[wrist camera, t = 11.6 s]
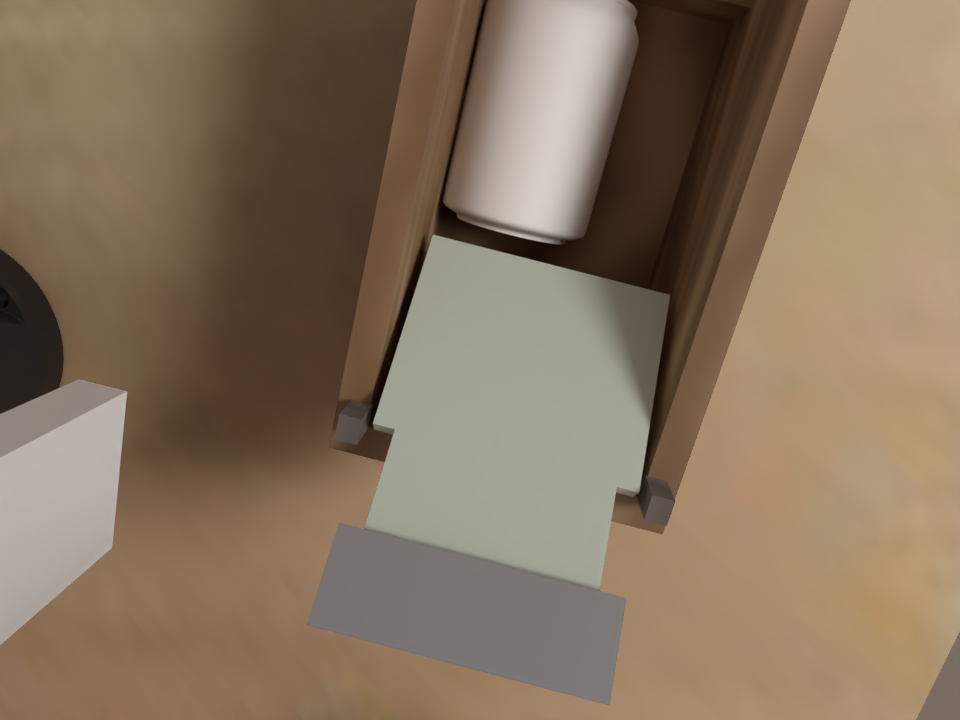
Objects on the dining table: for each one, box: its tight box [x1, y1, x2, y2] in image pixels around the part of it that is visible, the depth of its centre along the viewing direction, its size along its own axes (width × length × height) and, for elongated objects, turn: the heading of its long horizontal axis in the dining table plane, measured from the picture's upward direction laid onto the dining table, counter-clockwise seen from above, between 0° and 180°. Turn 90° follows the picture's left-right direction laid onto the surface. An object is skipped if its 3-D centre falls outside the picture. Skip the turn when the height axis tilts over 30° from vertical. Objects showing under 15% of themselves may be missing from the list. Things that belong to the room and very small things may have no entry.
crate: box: [329, 0, 851, 534], centre depth 35 cm, size 16×26×16 cm, turn 166°
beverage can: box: [442, 0, 639, 245], centre depth 37 cm, size 8×8×12 cm
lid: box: [307, 235, 670, 706], centre depth 31 cm, size 12×18×2 cm
